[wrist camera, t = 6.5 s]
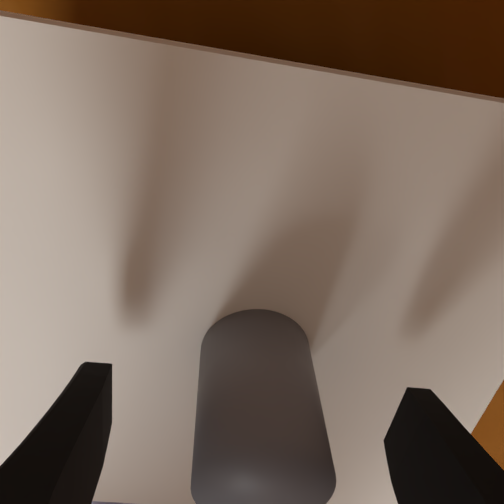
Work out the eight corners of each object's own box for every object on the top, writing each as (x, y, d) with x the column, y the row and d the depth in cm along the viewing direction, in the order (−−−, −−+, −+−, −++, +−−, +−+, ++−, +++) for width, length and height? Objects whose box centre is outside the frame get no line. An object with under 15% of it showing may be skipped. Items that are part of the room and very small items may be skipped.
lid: (413, 504, 19) (462, 651, 15) (4, 478, 17) (-65, 638, 13) (635, 121, 11) (861, 212, 7) (-69, -2, 9) (-293, 28, 5)
